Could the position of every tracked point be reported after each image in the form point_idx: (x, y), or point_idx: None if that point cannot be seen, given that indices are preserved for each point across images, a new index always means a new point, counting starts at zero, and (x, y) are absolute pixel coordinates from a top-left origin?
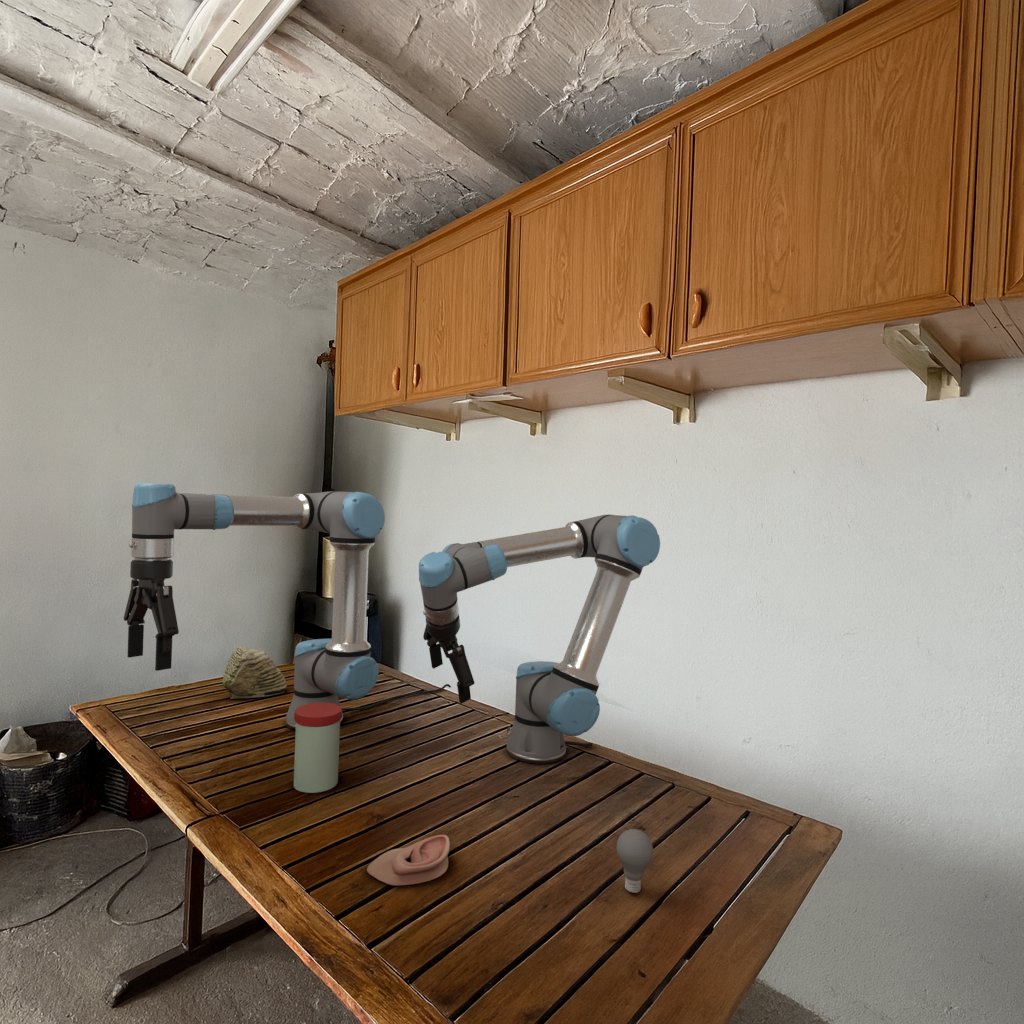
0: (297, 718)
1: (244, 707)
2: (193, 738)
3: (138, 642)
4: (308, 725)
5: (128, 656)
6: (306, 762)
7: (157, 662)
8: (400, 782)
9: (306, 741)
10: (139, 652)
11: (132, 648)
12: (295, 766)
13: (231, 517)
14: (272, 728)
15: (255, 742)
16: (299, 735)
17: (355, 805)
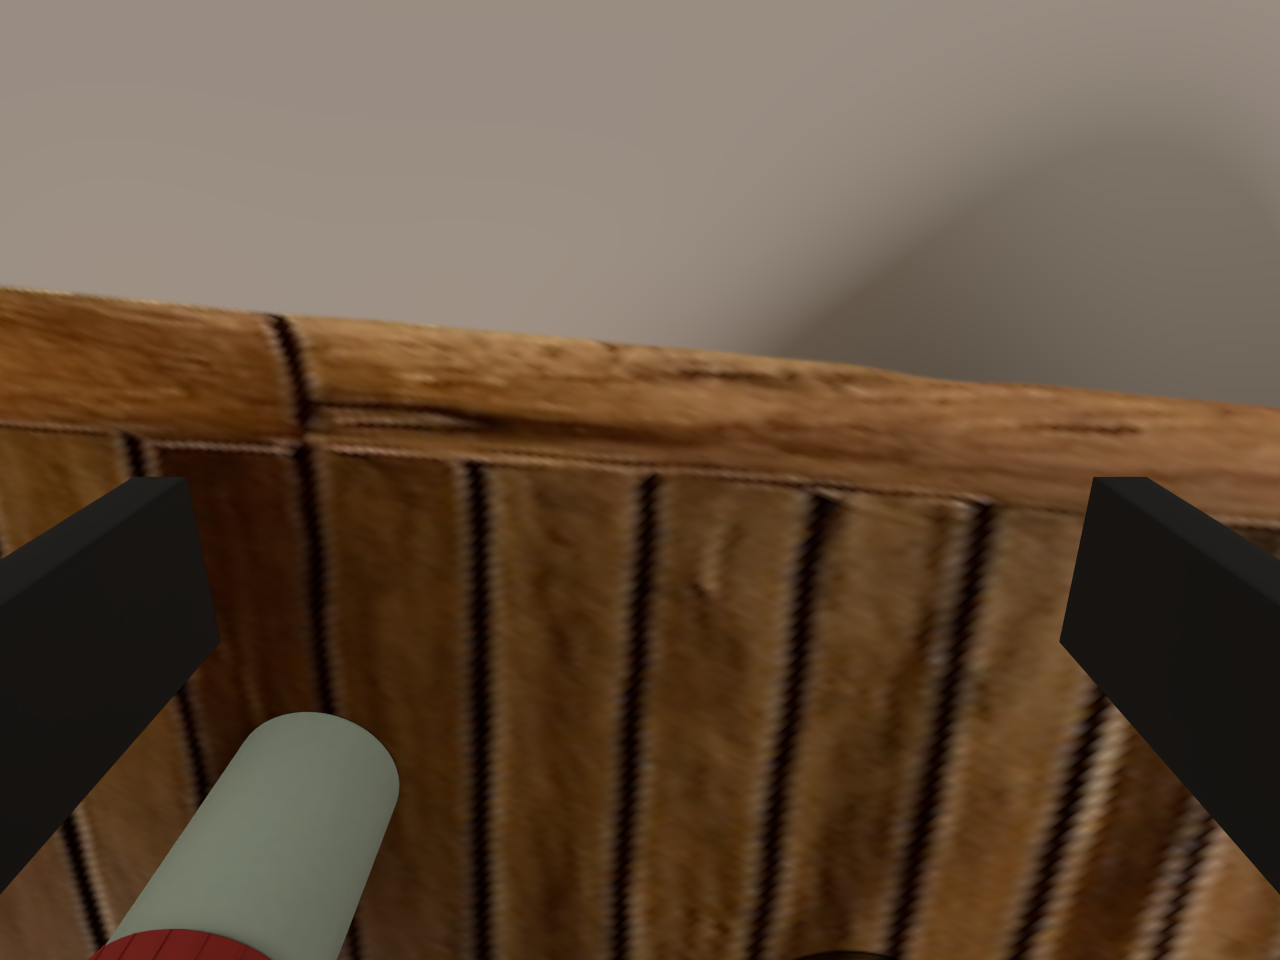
0: (168, 952)
1: (1233, 955)
2: (1088, 680)
3: (1189, 706)
4: (108, 945)
5: (1114, 481)
6: (215, 802)
7: (56, 527)
8: None
9: (169, 874)
10: (1094, 629)
11: (1160, 577)
12: (294, 771)
13: None
14: (917, 917)
15: (836, 815)
16: (200, 882)
17: None
